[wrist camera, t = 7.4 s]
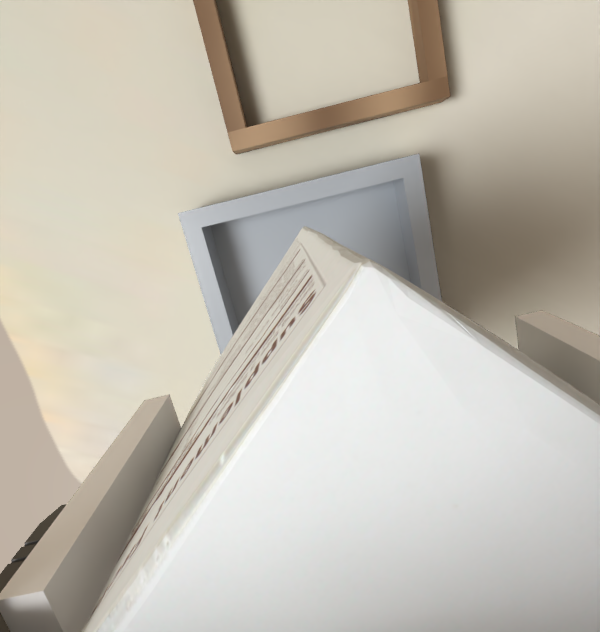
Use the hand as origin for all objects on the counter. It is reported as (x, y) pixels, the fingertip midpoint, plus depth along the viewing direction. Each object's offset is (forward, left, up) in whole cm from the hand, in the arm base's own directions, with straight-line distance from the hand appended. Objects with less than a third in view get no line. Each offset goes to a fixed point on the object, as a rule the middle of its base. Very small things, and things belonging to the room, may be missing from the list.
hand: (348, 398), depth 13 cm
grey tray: (0, 0, -15) cm, 15 cm away
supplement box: (0, 0, -5) cm, 5 cm away
